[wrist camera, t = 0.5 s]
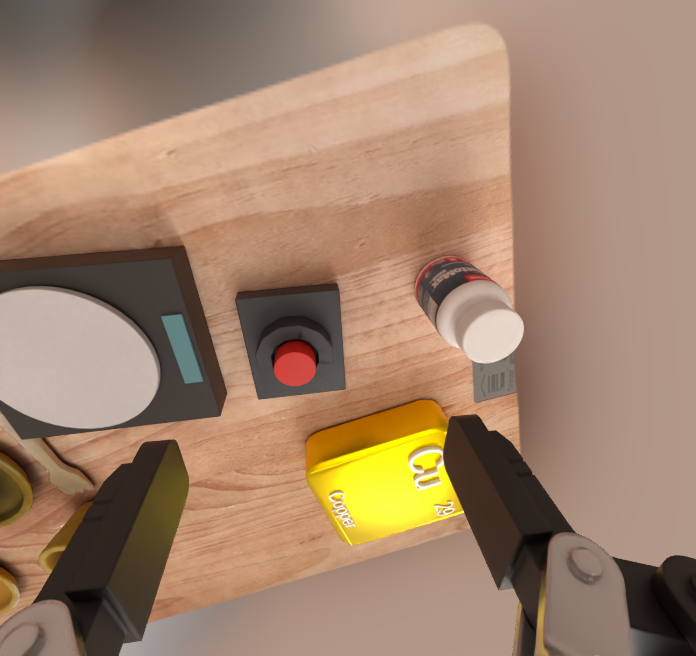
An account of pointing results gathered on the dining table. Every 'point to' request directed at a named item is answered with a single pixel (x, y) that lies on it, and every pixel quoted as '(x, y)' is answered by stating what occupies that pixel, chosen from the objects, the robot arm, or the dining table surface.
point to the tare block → (293, 335)
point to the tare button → (295, 363)
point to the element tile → (383, 472)
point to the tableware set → (17, 498)
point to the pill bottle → (468, 309)
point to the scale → (104, 343)
